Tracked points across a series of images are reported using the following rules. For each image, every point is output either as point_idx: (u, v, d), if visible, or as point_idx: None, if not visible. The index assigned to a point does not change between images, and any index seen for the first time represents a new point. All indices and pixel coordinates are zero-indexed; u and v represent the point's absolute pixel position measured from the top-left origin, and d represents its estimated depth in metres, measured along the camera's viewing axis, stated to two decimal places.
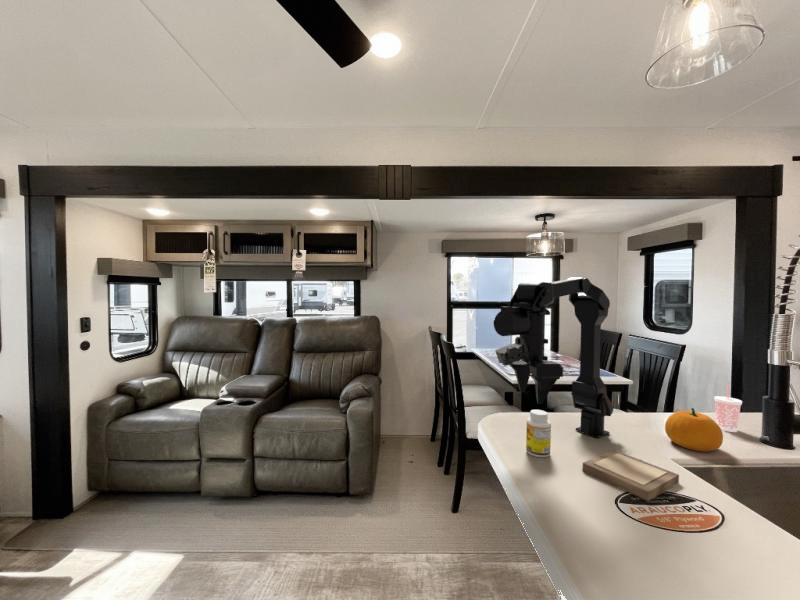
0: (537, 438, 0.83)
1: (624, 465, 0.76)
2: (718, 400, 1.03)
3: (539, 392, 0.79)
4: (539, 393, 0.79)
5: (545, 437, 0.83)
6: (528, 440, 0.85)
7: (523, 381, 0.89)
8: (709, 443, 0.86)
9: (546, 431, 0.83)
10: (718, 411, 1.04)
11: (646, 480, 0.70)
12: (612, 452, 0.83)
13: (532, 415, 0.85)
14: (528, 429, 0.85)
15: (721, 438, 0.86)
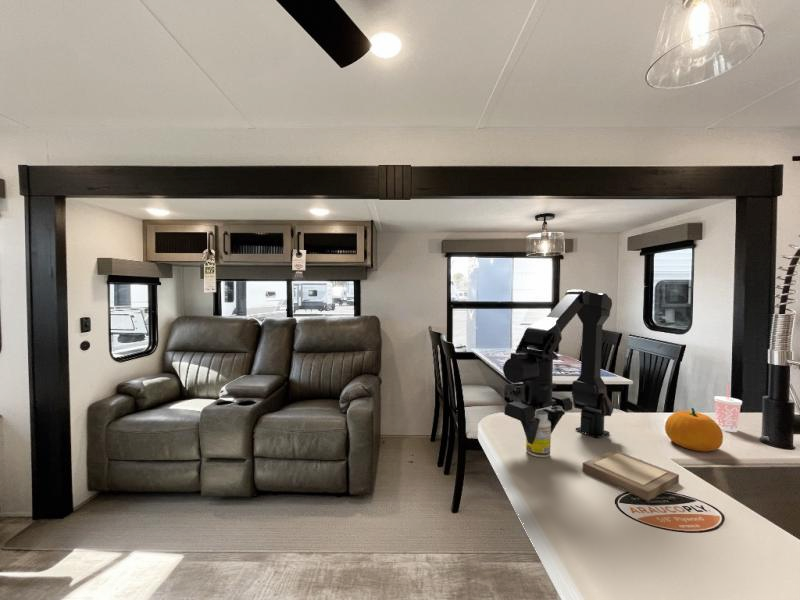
0: (537, 438, 0.83)
1: (624, 465, 0.76)
2: (718, 400, 1.03)
3: (525, 431, 0.84)
4: (526, 432, 0.84)
5: (545, 437, 0.83)
6: None
7: None
8: (709, 443, 0.86)
9: (546, 430, 0.83)
10: (718, 411, 1.04)
11: (646, 480, 0.70)
12: (612, 452, 0.83)
13: None
14: None
15: (721, 438, 0.86)
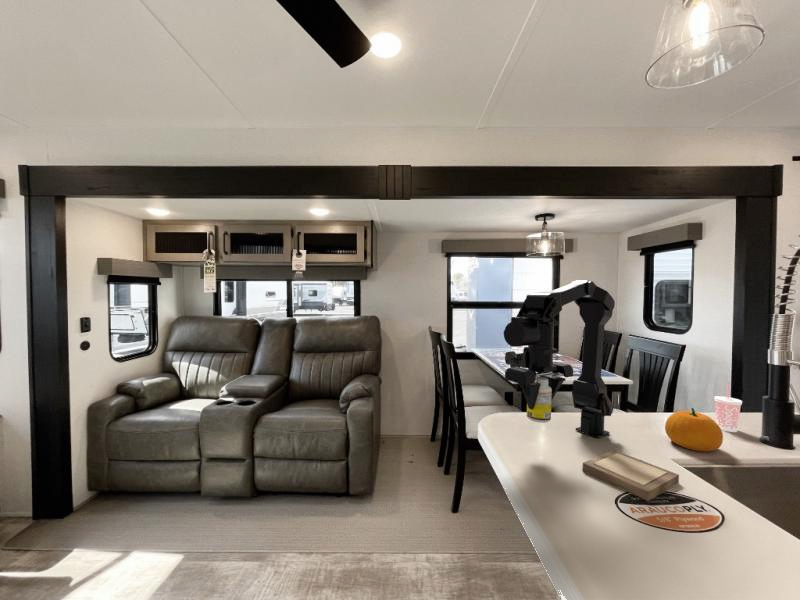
0: (538, 403, 0.83)
1: (624, 465, 0.76)
2: (718, 400, 1.03)
3: (525, 396, 0.84)
4: (527, 397, 0.84)
5: (546, 402, 0.83)
6: None
7: None
8: (709, 443, 0.86)
9: (547, 396, 0.83)
10: (718, 411, 1.04)
11: (646, 480, 0.70)
12: (612, 452, 0.83)
13: None
14: None
15: (721, 438, 0.86)
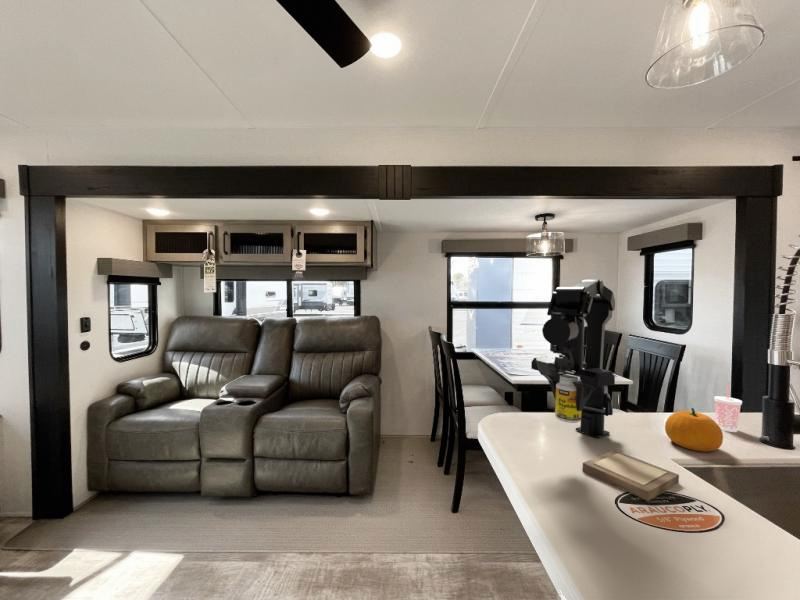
0: None
1: (624, 465, 0.76)
2: (718, 400, 1.03)
3: (581, 399, 0.78)
4: (581, 400, 0.78)
5: None
6: (575, 409, 0.79)
7: None
8: (709, 443, 0.86)
9: None
10: (718, 411, 1.04)
11: (646, 480, 0.70)
12: (612, 452, 0.83)
13: (575, 381, 0.79)
14: (575, 397, 0.79)
15: (721, 438, 0.86)
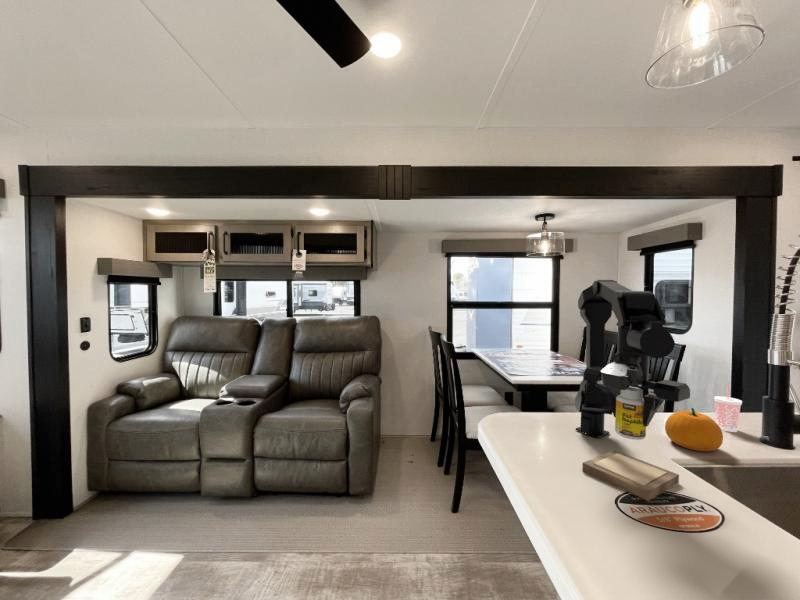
0: None
1: (624, 465, 0.76)
2: (718, 400, 1.03)
3: (650, 414, 0.71)
4: (649, 415, 0.71)
5: None
6: (641, 425, 0.72)
7: None
8: (709, 443, 0.86)
9: None
10: (718, 411, 1.04)
11: (646, 480, 0.70)
12: (612, 452, 0.83)
13: (640, 393, 0.73)
14: (642, 411, 0.72)
15: (721, 438, 0.86)
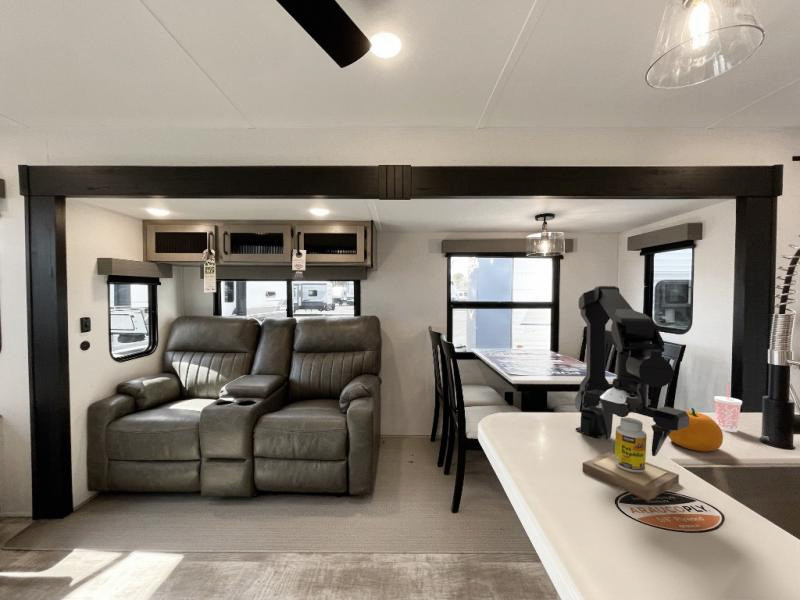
0: None
1: None
2: (718, 400, 1.03)
3: (658, 444, 0.70)
4: (658, 444, 0.70)
5: None
6: (641, 458, 0.72)
7: (609, 426, 0.79)
8: (709, 443, 0.86)
9: None
10: (718, 411, 1.04)
11: (646, 480, 0.70)
12: (612, 452, 0.83)
13: (640, 426, 0.73)
14: (641, 444, 0.72)
15: (721, 438, 0.86)
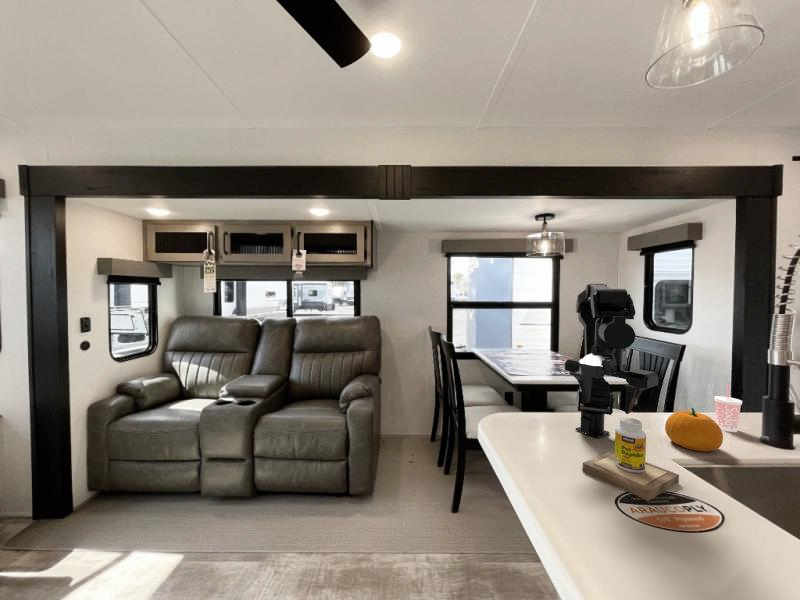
0: None
1: None
2: (718, 400, 1.03)
3: (631, 402, 0.77)
4: (630, 403, 0.77)
5: None
6: (641, 458, 0.72)
7: (588, 390, 0.86)
8: (709, 443, 0.86)
9: None
10: (718, 411, 1.04)
11: (646, 480, 0.70)
12: (612, 452, 0.83)
13: (639, 426, 0.73)
14: (641, 445, 0.72)
15: (721, 438, 0.86)
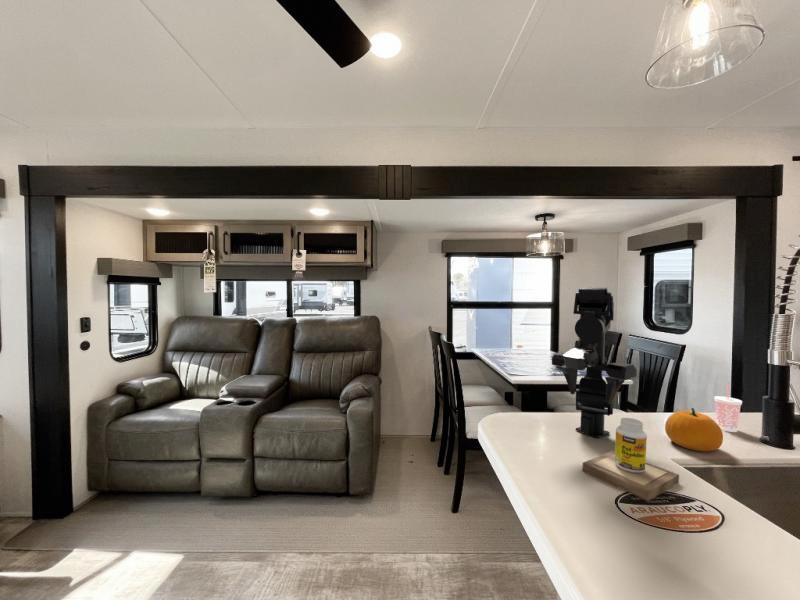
0: None
1: None
2: (718, 400, 1.03)
3: (611, 393, 0.82)
4: (611, 394, 0.83)
5: None
6: (641, 458, 0.72)
7: (573, 383, 0.92)
8: (709, 443, 0.86)
9: None
10: (718, 411, 1.04)
11: (646, 480, 0.70)
12: (612, 452, 0.83)
13: (640, 426, 0.73)
14: (641, 445, 0.72)
15: (721, 438, 0.86)
